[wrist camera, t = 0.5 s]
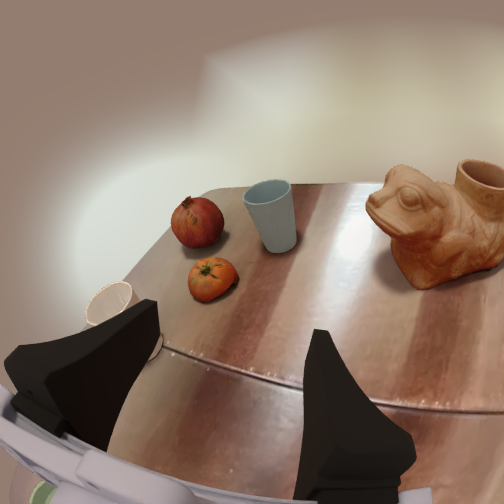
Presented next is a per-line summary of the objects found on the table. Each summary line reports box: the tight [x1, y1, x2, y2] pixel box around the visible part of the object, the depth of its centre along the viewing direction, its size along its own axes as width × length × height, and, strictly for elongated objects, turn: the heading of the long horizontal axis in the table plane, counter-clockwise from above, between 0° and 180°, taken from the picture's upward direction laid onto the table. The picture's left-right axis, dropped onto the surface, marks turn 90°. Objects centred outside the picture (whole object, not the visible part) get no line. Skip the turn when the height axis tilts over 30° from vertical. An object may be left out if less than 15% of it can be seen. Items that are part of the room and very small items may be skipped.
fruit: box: [171, 196, 224, 248], centre depth 56 cm, size 11×10×10 cm
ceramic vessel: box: [366, 160, 504, 290], centre depth 34 cm, size 14×26×15 cm, turn 90°
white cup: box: [85, 281, 163, 362], centre depth 39 cm, size 8×8×10 cm
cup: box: [243, 179, 297, 253], centre depth 49 cm, size 8×8×10 cm
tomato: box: [188, 257, 239, 303], centre depth 47 cm, size 8×7×7 cm
